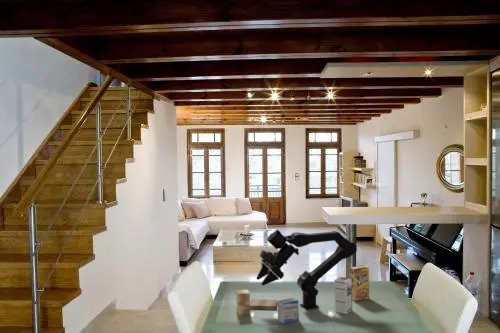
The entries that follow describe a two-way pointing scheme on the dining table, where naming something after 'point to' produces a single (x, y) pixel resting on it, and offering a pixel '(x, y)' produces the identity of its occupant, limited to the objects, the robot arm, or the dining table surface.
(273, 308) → the walnut slab
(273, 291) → the dining table surface
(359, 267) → the candy box
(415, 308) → the dining table surface
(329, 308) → the dining table surface
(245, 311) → the oak pillar
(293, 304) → the medicine box
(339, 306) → the syrup box
